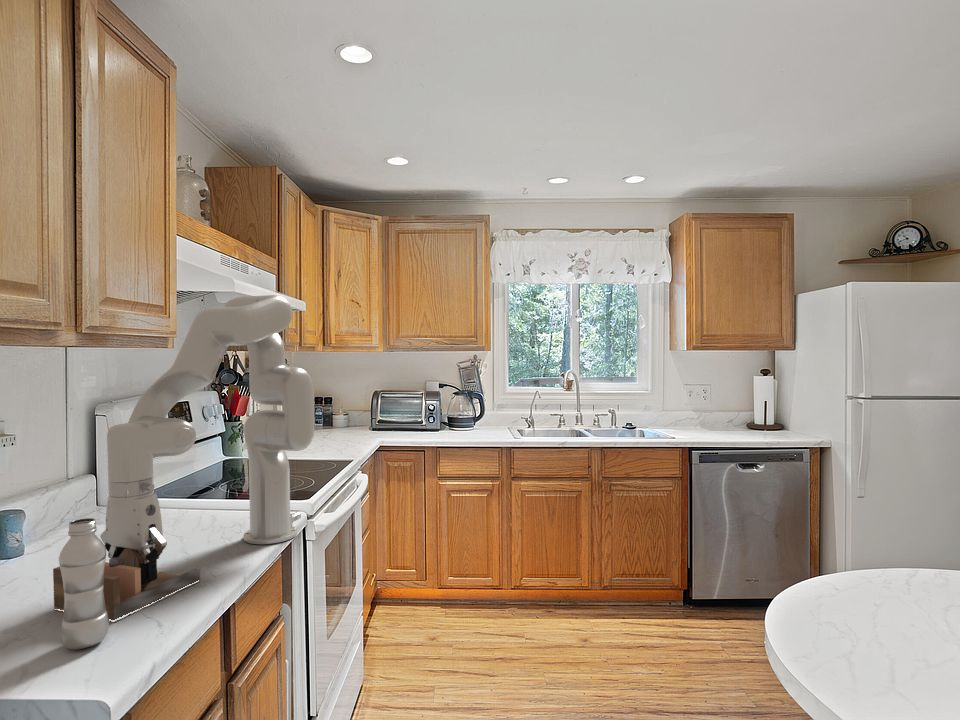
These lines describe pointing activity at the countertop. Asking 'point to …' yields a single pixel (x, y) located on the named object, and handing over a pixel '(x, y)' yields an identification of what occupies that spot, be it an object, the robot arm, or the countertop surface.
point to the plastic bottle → (83, 586)
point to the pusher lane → (117, 609)
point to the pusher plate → (125, 578)
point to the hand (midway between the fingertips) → (134, 578)
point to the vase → (131, 560)
